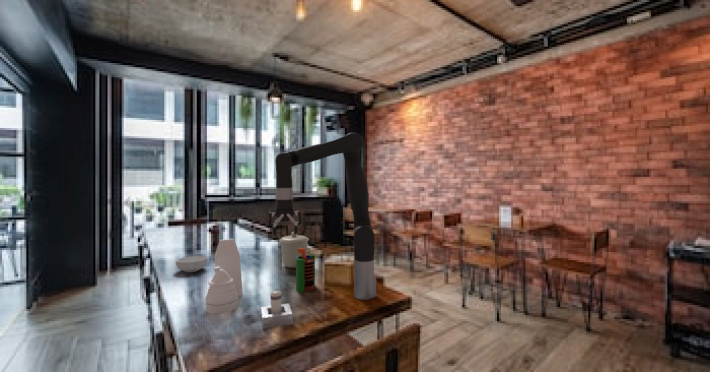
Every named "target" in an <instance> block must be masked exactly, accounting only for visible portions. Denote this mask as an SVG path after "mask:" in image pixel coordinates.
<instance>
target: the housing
mask: <svg viewBox="0 0 710 372" xmlns="http://www.w3.org/2000/svg"><path fill="white" fill-rule="evenodd" d="M281 311H282V313H278V314H271V305H267V306H266V305H265V306H261V307H260V317H261V318H260V319H261V327H262V329H270V328H276V327H283V326H290V325H294V324H293V323H294V322H293V321H294V320H293V312H292V309H291V306H290V303H281Z"/></svg>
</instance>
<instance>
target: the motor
mask: <svg viewBox="0 0 710 372" xmlns="http://www.w3.org/2000/svg"><path fill="white" fill-rule="evenodd" d="M298 253H301V254H302V255H301V256H297V257H296V268H295V290H296V291H297V292H301V293H305V292H311V291H313V290H315V286H316V256H315V255H314V254H307V255H306V252H305V249H304V248H299V249H298Z"/></svg>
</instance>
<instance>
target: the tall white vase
mask: <svg viewBox="0 0 710 372" xmlns="http://www.w3.org/2000/svg"><path fill="white" fill-rule="evenodd" d="M214 254H215V255H214V267H220V269H223V270H225V271H226V272H227V273H228V275H229V276H230V278H232V279H233V282H232V283H233V285H234V286H235V289H236V292H237V297H240V296H241V297H242V296H244V294H243V292H244V291H243V280H242V268H241V256H240V252H239V249H238V246H237V244H236V241H235V239H234V238H227V239H226V238H224V239H220V240H219V242H218V244H217V247H216V250H215V253H214ZM215 273H216V272H215V271H214V274H215Z"/></svg>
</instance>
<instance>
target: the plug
mask: <svg viewBox="0 0 710 372" xmlns="http://www.w3.org/2000/svg"><path fill="white" fill-rule="evenodd" d="M269 299H270V306H271V314H278V313H282V311H281V304H282V291H281V290H273V291H271V292H270V298H269Z"/></svg>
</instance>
